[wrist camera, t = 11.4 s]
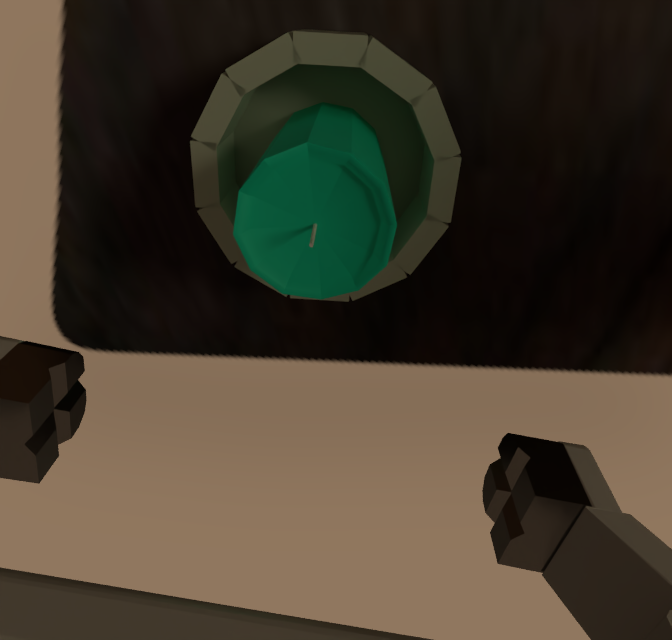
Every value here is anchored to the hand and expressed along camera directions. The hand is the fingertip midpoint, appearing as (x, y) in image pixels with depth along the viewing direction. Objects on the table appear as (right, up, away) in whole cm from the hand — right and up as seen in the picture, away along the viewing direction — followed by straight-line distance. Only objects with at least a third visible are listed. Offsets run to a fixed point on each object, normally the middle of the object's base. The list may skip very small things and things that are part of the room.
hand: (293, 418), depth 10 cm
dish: (0, +11, +19) cm, 22 cm away
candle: (0, +10, +18) cm, 21 cm away
